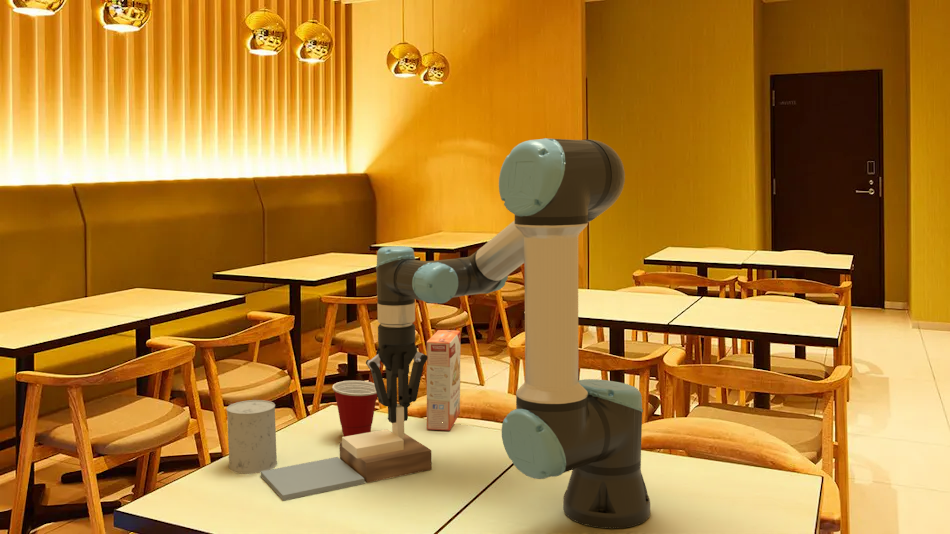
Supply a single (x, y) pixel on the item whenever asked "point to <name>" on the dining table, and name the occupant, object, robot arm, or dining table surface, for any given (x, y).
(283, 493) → the mat
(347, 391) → the plastic cup
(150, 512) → the dining table surface
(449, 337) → the cracker box
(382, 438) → the tile
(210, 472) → the dining table surface
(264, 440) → the speckled stone pillar
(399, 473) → the brown block
